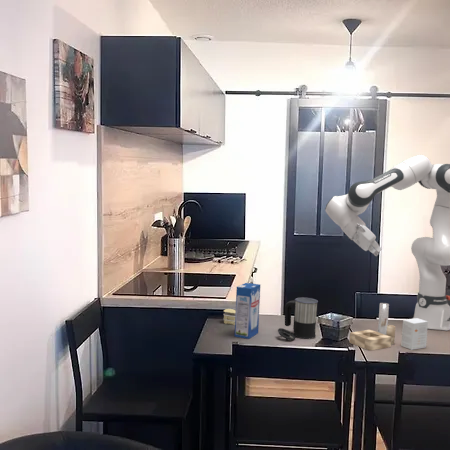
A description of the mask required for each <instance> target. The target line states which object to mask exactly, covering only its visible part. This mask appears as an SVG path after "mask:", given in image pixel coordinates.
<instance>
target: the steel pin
mask: <svg viewBox="0 0 450 450" xmlns="http://www.w3.org/2000/svg"><path fill="white" fill-rule="evenodd" d="M389 306H390V303H387V302H380V303H379V311H378V312H379V313H378V323H377V324H378V325H377V332H379V333H382V334H384V335H386V333H387V325H389V324H388V323H389V313H390V312H389V309H390V307H389Z"/></svg>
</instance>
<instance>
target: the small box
mask: <svg viewBox="0 0 450 450" xmlns="http://www.w3.org/2000/svg"><path fill="white" fill-rule="evenodd" d="M413 318H414V317H413ZM401 328H402V330H401V331H402V332H401V343H400V345H401V347H403V348H406V349H408V350H410V351H414V350H417V349H425V348H427V342H428V341H427V340H428V339H427V338H428V321H425V320H422V319H419V318H414V319H412V318H409V319H408V318H407V319H403V320H402V327H401Z"/></svg>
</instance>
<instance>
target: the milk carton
mask: <svg viewBox="0 0 450 450" xmlns="http://www.w3.org/2000/svg"><path fill="white" fill-rule="evenodd" d="M235 291H236V292H235V293H236V294H235V295H236V299H235V310H236V314H235V325H234V337H236V338H241V339H247V340H249V339H251V338H253V337H254V336H256V335H257V334H259V324H260V305H261V304H260V302H261V300H260V299H261V284H259V283H253V282H252V283H249V282H245V283H242V284H240V285H238V286H236V290H235Z"/></svg>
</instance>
